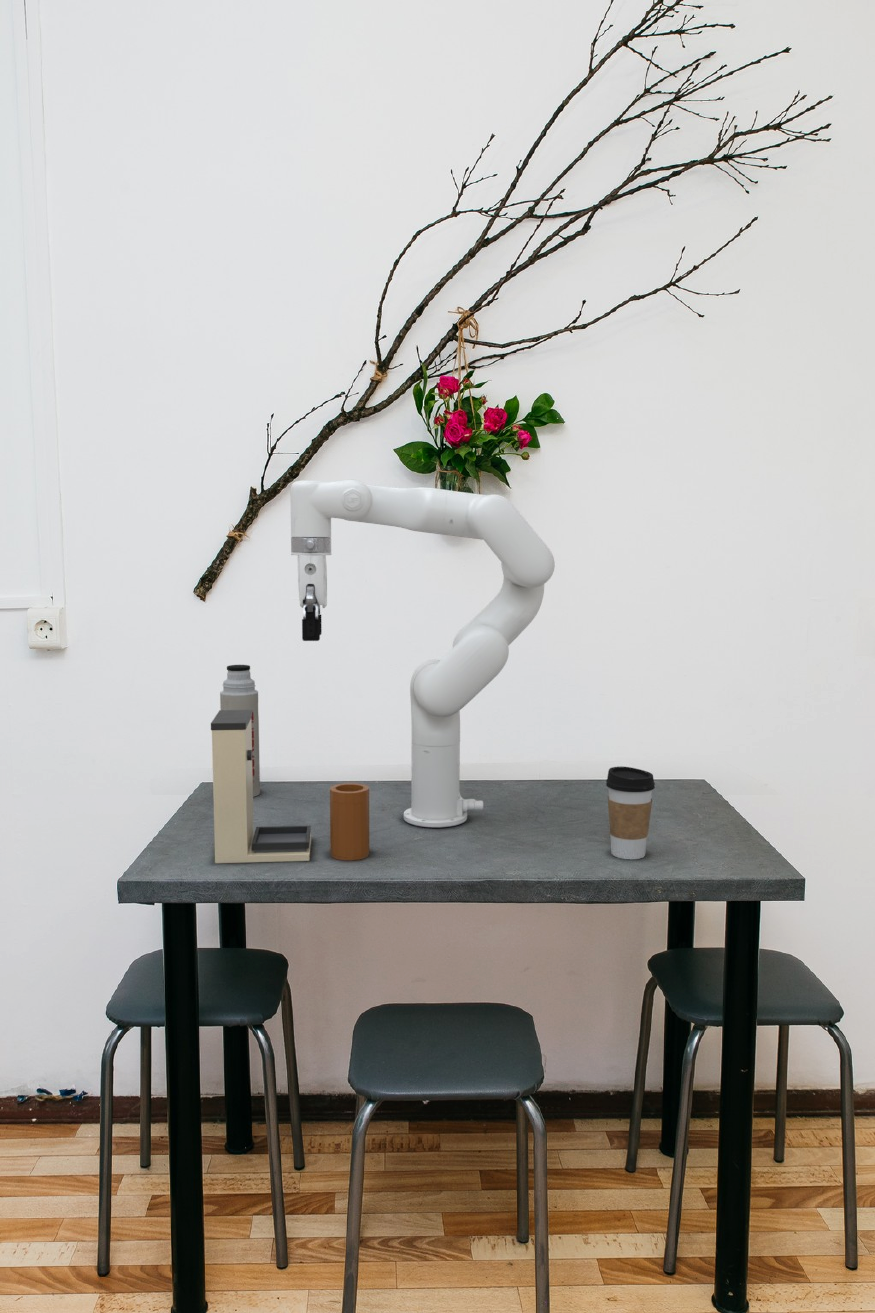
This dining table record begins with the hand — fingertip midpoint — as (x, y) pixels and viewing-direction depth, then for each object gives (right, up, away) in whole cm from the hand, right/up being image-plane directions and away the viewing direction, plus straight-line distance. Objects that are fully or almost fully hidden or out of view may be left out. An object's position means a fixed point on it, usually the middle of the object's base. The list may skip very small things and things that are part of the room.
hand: (312, 637), depth 188 cm
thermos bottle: (-18, -33, +25) cm, 46 cm away
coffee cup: (+58, -39, -13) cm, 71 cm away
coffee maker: (-7, -38, -12) cm, 41 cm away
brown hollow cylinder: (+8, -38, -14) cm, 42 cm away
